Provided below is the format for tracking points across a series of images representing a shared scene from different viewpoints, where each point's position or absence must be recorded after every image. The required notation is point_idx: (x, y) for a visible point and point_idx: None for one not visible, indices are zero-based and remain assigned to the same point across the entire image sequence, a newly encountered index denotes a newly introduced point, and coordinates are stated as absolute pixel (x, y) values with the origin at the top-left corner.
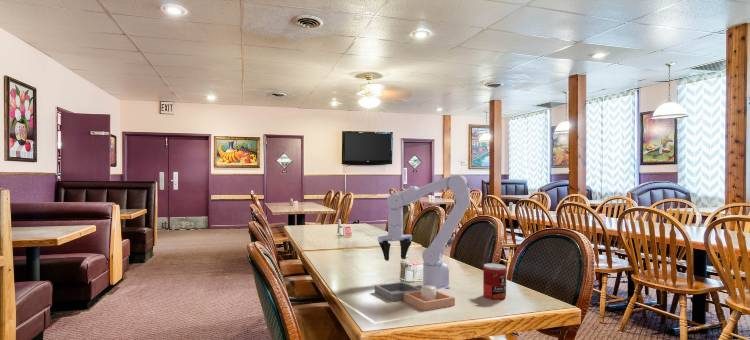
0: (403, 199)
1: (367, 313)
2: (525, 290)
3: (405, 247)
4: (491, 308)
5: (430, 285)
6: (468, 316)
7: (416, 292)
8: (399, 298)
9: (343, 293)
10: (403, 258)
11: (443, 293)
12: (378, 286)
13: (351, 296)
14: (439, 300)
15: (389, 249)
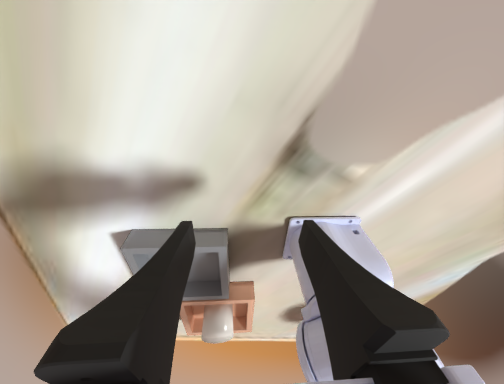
0: None
1: (89, 302)
2: (426, 298)
3: (323, 318)
4: (292, 325)
5: (228, 332)
6: (239, 333)
7: (207, 303)
8: None
9: (22, 191)
10: (299, 240)
11: (251, 318)
12: (130, 257)
13: (54, 223)
14: None
15: (177, 323)
